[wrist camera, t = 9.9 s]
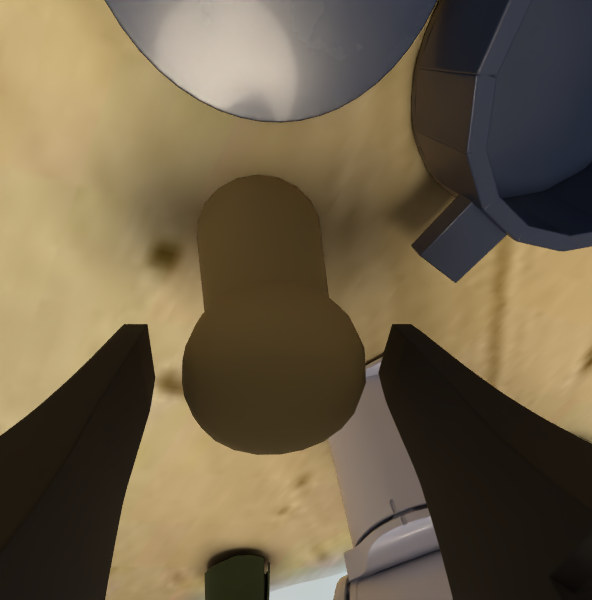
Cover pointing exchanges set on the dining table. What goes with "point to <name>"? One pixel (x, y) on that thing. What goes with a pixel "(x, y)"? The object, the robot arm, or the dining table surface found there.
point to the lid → (273, 49)
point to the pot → (506, 126)
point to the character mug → (238, 579)
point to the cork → (268, 325)
